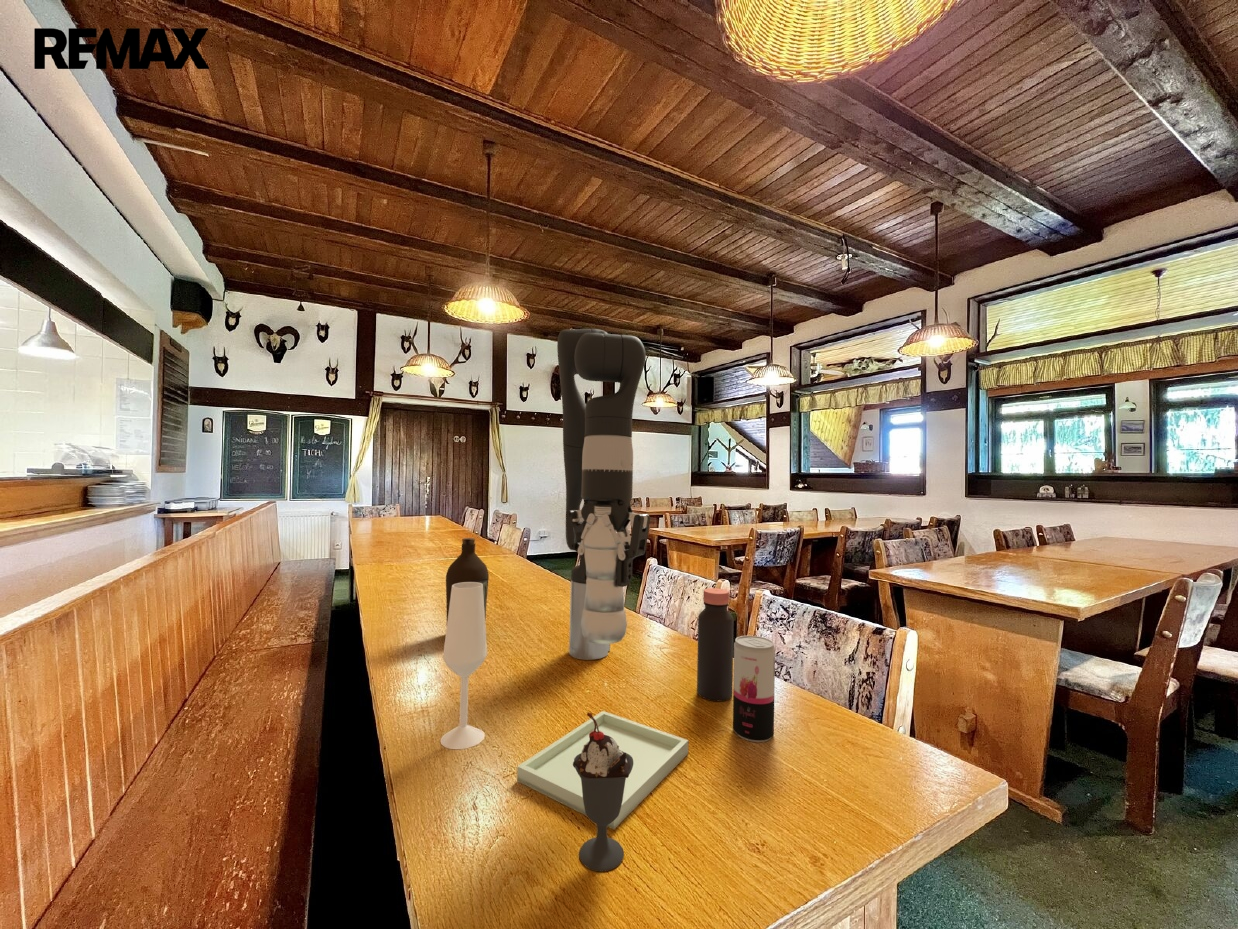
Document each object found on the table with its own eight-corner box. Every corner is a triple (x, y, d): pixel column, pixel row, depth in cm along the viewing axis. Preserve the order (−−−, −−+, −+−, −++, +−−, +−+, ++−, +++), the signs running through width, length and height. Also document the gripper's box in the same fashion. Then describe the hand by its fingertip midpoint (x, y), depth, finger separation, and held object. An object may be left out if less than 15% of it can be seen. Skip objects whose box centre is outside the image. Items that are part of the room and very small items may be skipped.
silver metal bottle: (621, 651, 68) (625, 506, 69) (574, 646, 70) (578, 504, 70) (630, 637, 75) (633, 504, 75) (587, 633, 76) (590, 502, 77)
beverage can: (751, 747, 77) (753, 650, 78) (724, 728, 83) (726, 638, 84) (782, 738, 81) (783, 644, 81) (754, 720, 86) (755, 633, 87)
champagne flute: (439, 731, 80) (443, 582, 81) (481, 724, 83) (485, 579, 83) (441, 753, 74) (446, 591, 75) (487, 744, 77) (492, 588, 77)
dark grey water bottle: (739, 694, 96) (740, 591, 97) (720, 705, 92) (722, 596, 92) (709, 684, 101) (710, 585, 102) (690, 694, 96) (691, 590, 97)
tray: (602, 722, 84) (602, 710, 84) (688, 753, 75) (688, 740, 75) (517, 781, 68) (517, 766, 68) (614, 829, 59) (614, 812, 59)
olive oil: (436, 635, 128) (440, 538, 129) (474, 627, 136) (477, 535, 136) (455, 645, 121) (459, 542, 121) (494, 636, 128) (497, 539, 129)
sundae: (570, 834, 58) (574, 703, 58) (628, 832, 58) (630, 703, 59) (570, 880, 51) (573, 732, 52) (634, 877, 52) (637, 731, 52)
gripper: (662, 469, 72) (660, 585, 72) (585, 469, 80) (582, 573, 80) (634, 466, 66) (632, 594, 65) (554, 467, 74) (550, 580, 74)
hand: (604, 582), depth 73 cm, fingers closed on silver metal bottle, 6 cm apart
